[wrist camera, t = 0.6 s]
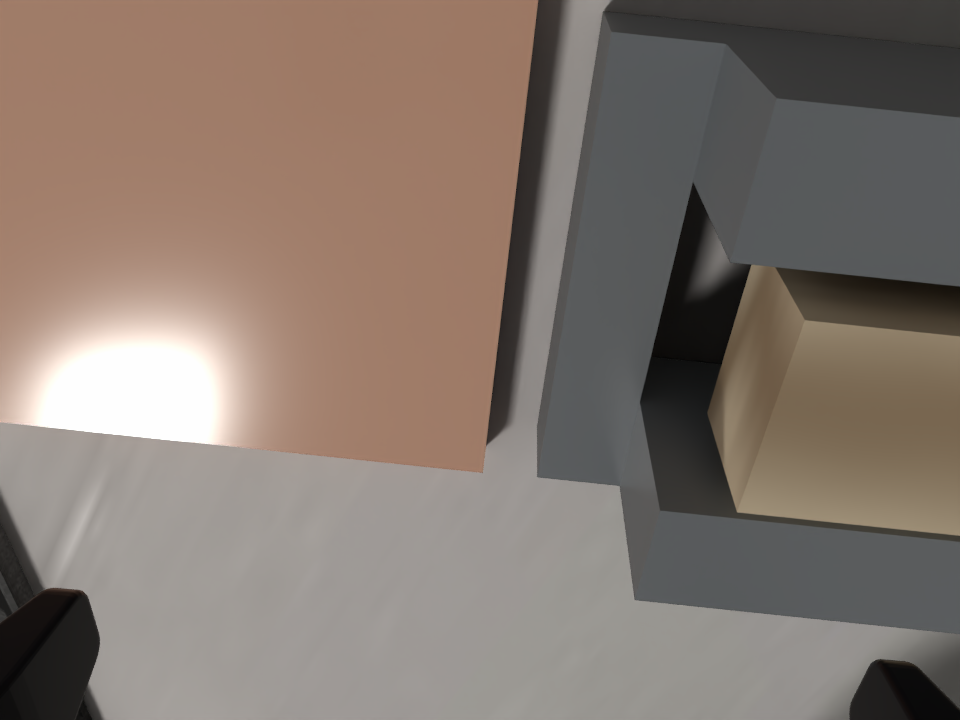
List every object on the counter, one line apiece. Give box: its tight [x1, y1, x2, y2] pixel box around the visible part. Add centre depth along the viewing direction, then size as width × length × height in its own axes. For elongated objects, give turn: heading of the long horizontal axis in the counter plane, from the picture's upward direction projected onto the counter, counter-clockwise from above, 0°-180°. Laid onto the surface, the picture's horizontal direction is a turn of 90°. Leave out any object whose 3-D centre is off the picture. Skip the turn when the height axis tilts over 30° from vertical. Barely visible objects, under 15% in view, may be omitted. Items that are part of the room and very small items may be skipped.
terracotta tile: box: [0, 0, 538, 473], centre depth 18 cm, size 12×15×1 cm
